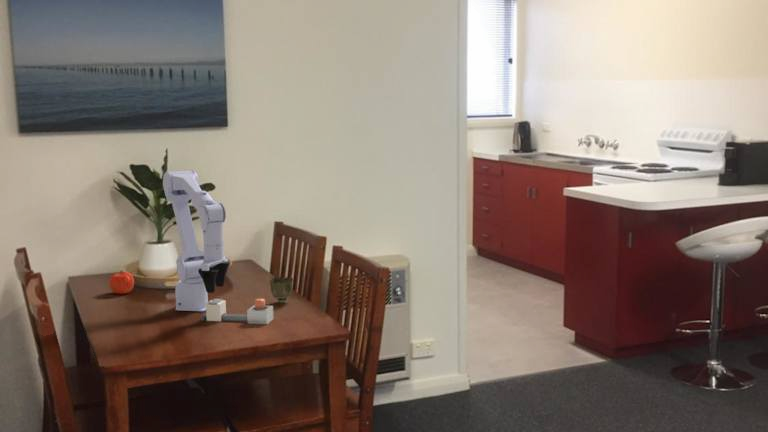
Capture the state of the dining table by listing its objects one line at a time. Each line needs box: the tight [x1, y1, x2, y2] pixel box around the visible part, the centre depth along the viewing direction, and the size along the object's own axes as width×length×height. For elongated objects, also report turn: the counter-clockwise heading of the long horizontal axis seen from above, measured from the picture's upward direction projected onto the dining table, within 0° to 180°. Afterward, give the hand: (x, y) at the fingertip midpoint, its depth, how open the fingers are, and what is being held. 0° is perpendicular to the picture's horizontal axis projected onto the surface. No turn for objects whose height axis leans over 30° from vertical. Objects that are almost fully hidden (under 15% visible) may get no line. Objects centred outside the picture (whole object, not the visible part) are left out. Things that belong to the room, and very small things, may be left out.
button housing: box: [246, 304, 274, 325], centre depth 238 cm, size 6×6×4 cm
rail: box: [200, 312, 248, 323], centre depth 240 cm, size 14×4×2 cm, turn 80°
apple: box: [108, 270, 135, 295], centre depth 273 cm, size 8×8×8 cm
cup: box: [269, 276, 294, 305], centre depth 258 cm, size 8×7×8 cm
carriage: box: [205, 298, 227, 322], centre depth 241 cm, size 4×5×6 cm
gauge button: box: [254, 298, 266, 308], centre depth 238 cm, size 3×3×2 cm
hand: (215, 289), depth 240 cm, fingers open, 7 cm apart
